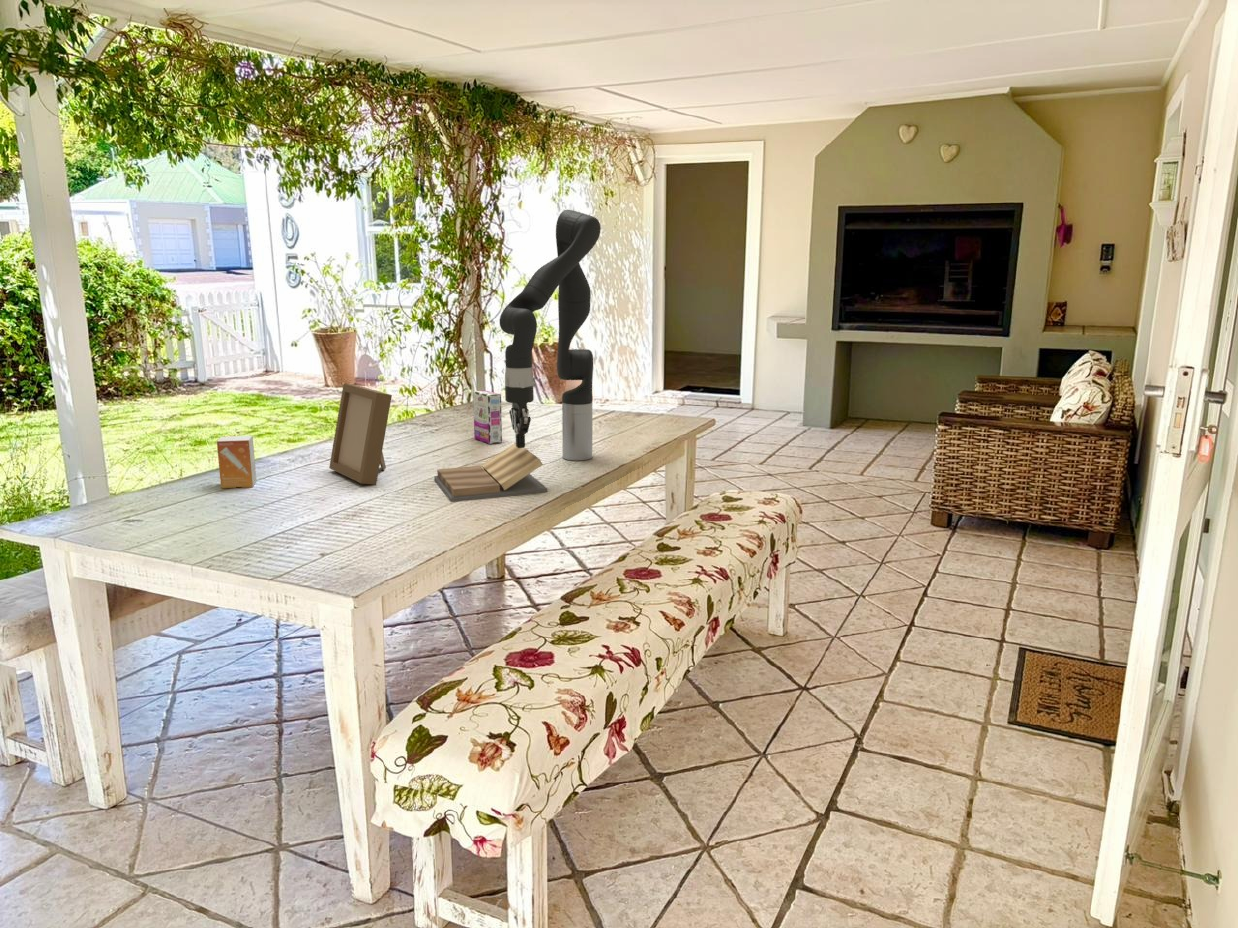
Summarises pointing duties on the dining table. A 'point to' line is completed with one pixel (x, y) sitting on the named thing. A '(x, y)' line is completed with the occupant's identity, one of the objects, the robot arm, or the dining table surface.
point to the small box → (236, 461)
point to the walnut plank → (468, 481)
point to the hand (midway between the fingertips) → (520, 447)
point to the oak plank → (511, 465)
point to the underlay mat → (501, 489)
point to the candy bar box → (487, 417)
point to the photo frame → (360, 433)
